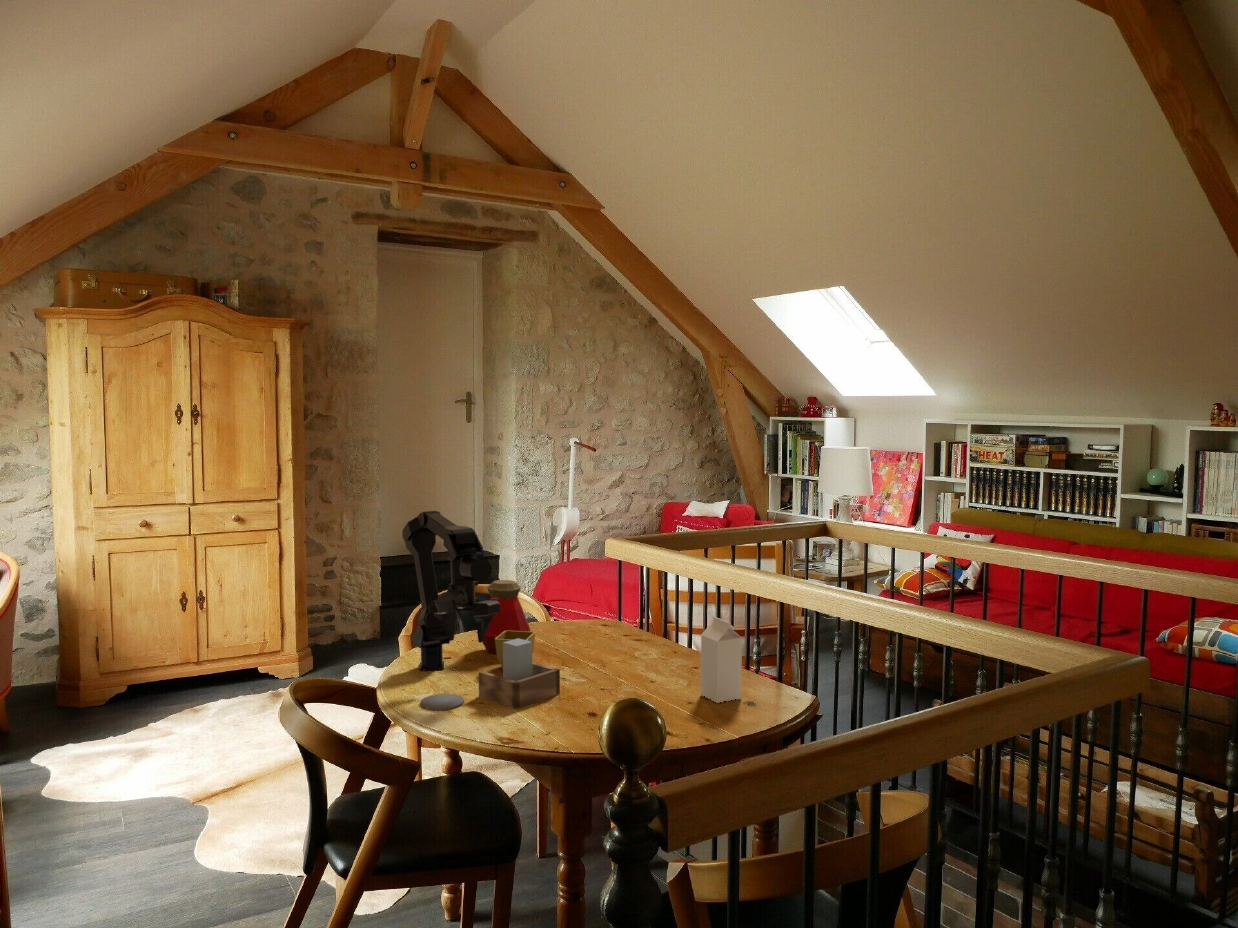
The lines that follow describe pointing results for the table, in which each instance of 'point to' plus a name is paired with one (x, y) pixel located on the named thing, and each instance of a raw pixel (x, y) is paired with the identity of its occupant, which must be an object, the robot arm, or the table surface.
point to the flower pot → (511, 636)
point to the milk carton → (721, 662)
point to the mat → (442, 701)
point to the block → (517, 659)
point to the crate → (520, 687)
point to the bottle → (505, 612)
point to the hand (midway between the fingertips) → (466, 641)
